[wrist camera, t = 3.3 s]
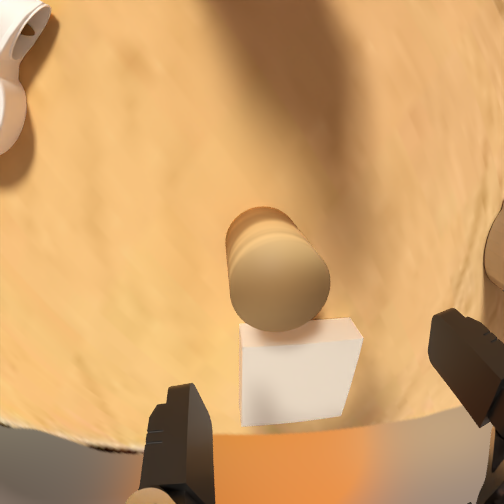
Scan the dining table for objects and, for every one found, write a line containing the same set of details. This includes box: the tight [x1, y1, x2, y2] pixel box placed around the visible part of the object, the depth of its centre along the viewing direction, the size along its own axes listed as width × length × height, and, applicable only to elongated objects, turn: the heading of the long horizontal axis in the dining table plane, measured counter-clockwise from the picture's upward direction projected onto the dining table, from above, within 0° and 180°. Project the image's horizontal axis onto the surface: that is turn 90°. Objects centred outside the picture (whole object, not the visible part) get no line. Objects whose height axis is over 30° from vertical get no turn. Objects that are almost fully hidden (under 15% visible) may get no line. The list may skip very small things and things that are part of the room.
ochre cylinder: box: [226, 207, 330, 332], centre depth 19 cm, size 5×5×7 cm
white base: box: [239, 317, 363, 427], centre depth 25 cm, size 9×9×3 cm
